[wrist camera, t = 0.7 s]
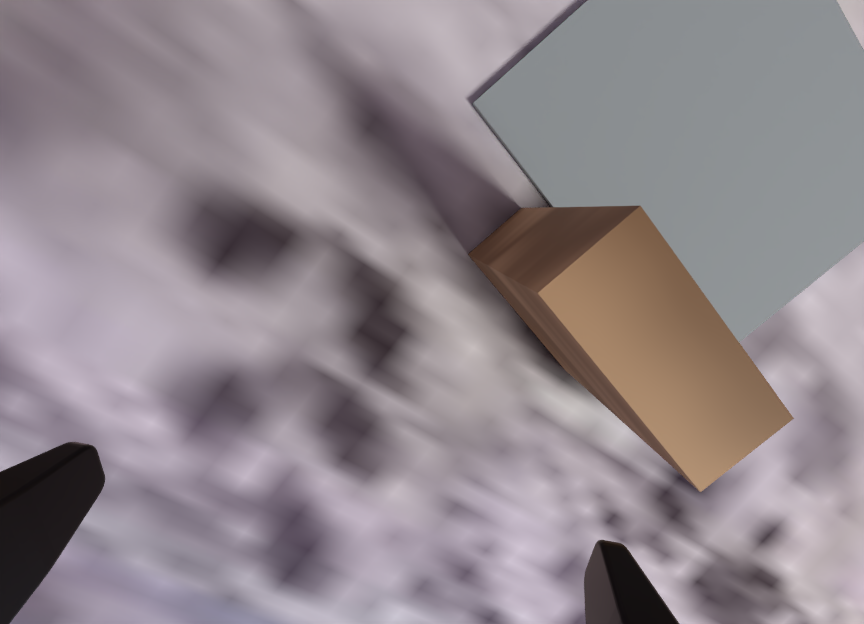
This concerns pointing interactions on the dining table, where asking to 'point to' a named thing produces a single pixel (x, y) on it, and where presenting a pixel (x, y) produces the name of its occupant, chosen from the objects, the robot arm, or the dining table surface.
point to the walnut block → (634, 332)
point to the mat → (702, 135)
